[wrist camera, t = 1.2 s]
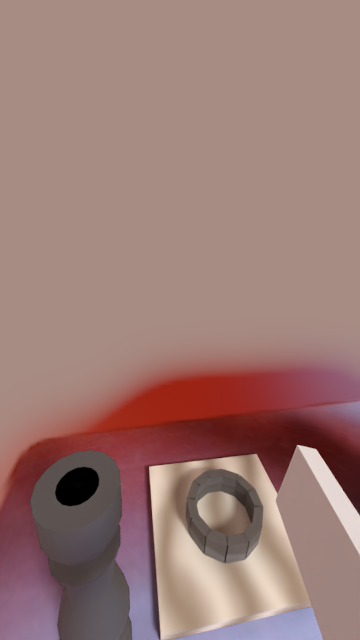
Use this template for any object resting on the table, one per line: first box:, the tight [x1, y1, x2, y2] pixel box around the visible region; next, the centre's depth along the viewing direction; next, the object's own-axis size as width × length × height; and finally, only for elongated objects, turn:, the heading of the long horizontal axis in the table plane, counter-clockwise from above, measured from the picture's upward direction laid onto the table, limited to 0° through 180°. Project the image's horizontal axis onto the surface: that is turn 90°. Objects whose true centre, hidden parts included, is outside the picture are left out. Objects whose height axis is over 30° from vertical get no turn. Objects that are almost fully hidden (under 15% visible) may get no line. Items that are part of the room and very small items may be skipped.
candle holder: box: [30, 450, 132, 640], centre depth 22 cm, size 6×6×25 cm
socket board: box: [149, 454, 312, 640], centre depth 38 cm, size 20×20×5 cm
